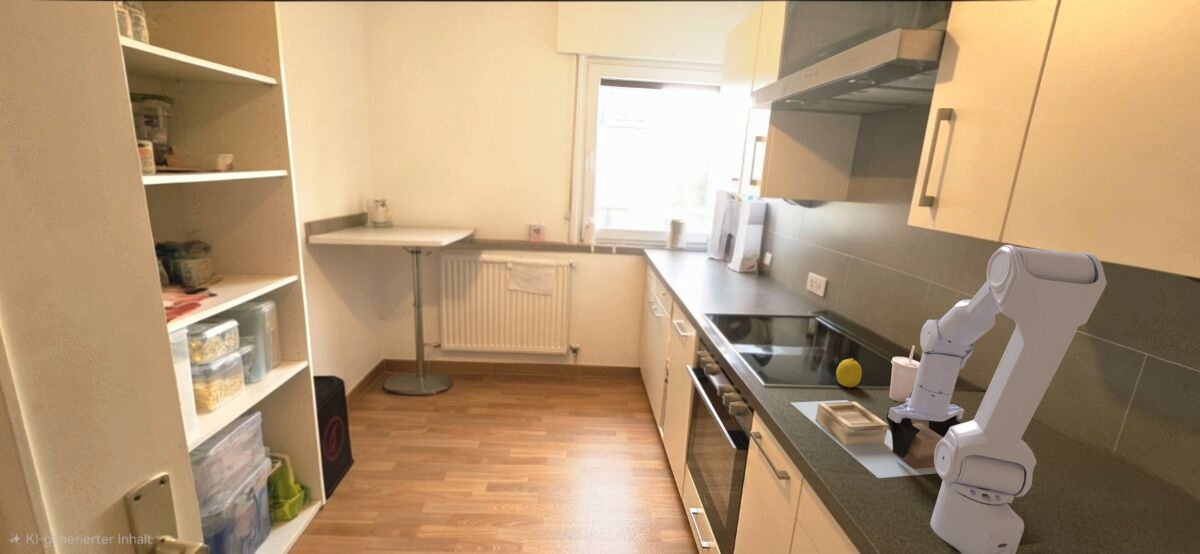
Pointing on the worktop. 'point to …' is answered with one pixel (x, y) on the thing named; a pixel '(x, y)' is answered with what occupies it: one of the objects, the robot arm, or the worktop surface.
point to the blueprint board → (868, 449)
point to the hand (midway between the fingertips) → (915, 453)
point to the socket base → (851, 423)
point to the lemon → (849, 373)
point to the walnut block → (922, 448)
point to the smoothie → (903, 377)
